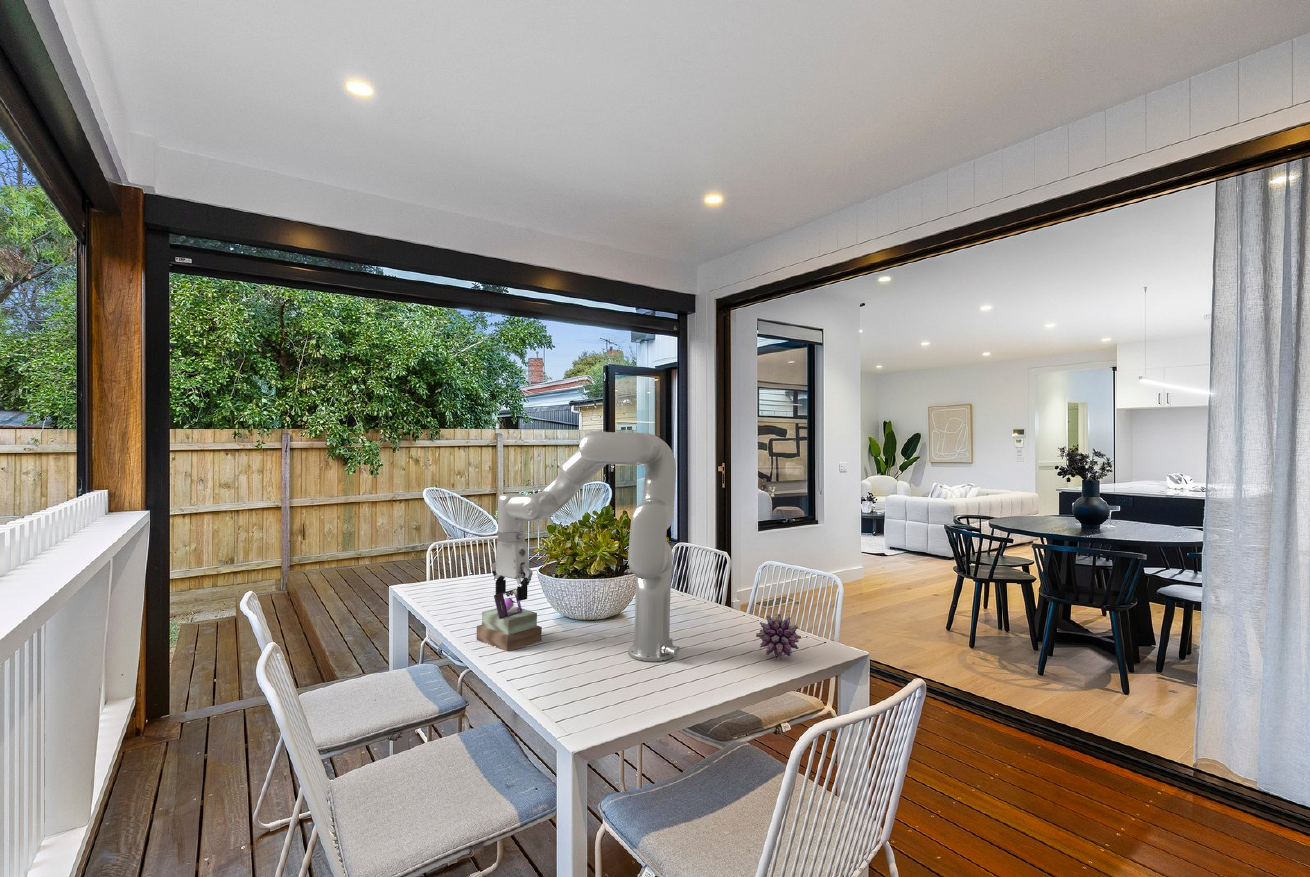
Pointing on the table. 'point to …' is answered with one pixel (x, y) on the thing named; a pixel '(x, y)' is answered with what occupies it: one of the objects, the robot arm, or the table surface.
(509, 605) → the purple product box
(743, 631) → the table surface
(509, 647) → the tower stack
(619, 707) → the table surface
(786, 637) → the purple spiky ball
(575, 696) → the table surface
